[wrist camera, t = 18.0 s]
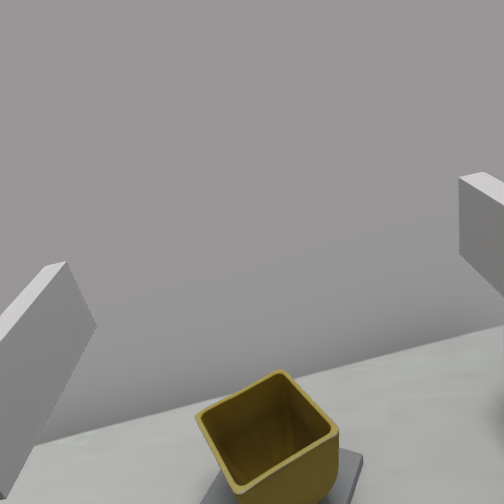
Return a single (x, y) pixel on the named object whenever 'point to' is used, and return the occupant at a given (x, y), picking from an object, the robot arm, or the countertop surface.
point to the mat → (337, 500)
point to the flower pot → (273, 442)
